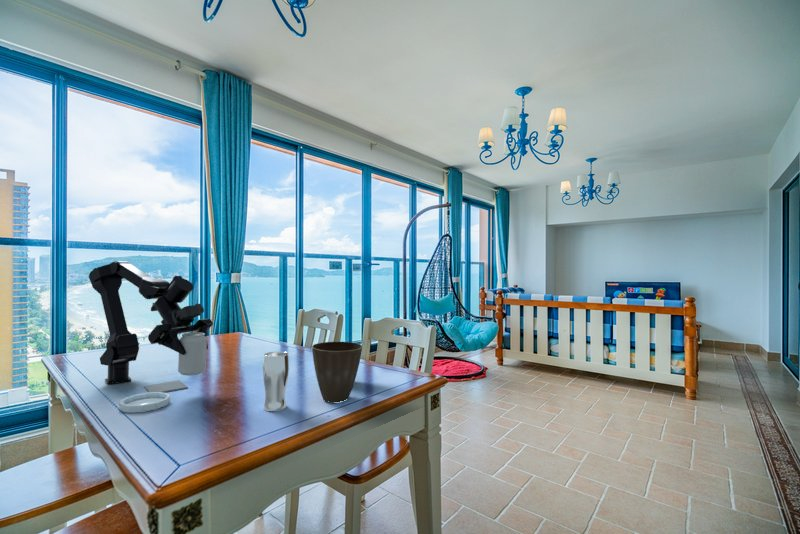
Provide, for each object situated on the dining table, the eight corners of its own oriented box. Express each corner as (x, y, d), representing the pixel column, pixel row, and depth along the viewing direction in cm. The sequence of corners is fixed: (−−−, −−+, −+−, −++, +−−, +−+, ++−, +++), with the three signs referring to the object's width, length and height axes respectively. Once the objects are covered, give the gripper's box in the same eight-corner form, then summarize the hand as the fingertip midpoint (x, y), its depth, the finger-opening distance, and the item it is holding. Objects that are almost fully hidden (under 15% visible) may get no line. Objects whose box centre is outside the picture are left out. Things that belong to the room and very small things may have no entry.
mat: (143, 387, 121) (143, 385, 121) (179, 381, 128) (179, 380, 128) (150, 394, 114) (150, 393, 114) (187, 388, 120) (187, 387, 120)
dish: (116, 404, 105) (116, 397, 105) (163, 395, 113) (164, 389, 113) (123, 416, 97) (123, 409, 97) (173, 405, 105) (174, 399, 105)
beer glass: (263, 414, 100) (265, 357, 101) (260, 405, 107) (261, 352, 107) (290, 410, 104) (291, 355, 104) (285, 402, 110) (286, 350, 110)
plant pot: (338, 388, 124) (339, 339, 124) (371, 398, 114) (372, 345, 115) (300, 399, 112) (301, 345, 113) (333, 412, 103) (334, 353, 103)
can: (192, 377, 110) (193, 336, 111) (171, 374, 113) (173, 334, 113) (211, 371, 118) (212, 332, 118) (192, 368, 120) (193, 330, 120)
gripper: (156, 297, 108) (183, 339, 104) (210, 294, 125) (234, 330, 121) (136, 322, 111) (161, 364, 107) (191, 316, 128) (215, 352, 124)
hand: (196, 351), depth 115 cm, fingers closed on can, 7 cm apart
